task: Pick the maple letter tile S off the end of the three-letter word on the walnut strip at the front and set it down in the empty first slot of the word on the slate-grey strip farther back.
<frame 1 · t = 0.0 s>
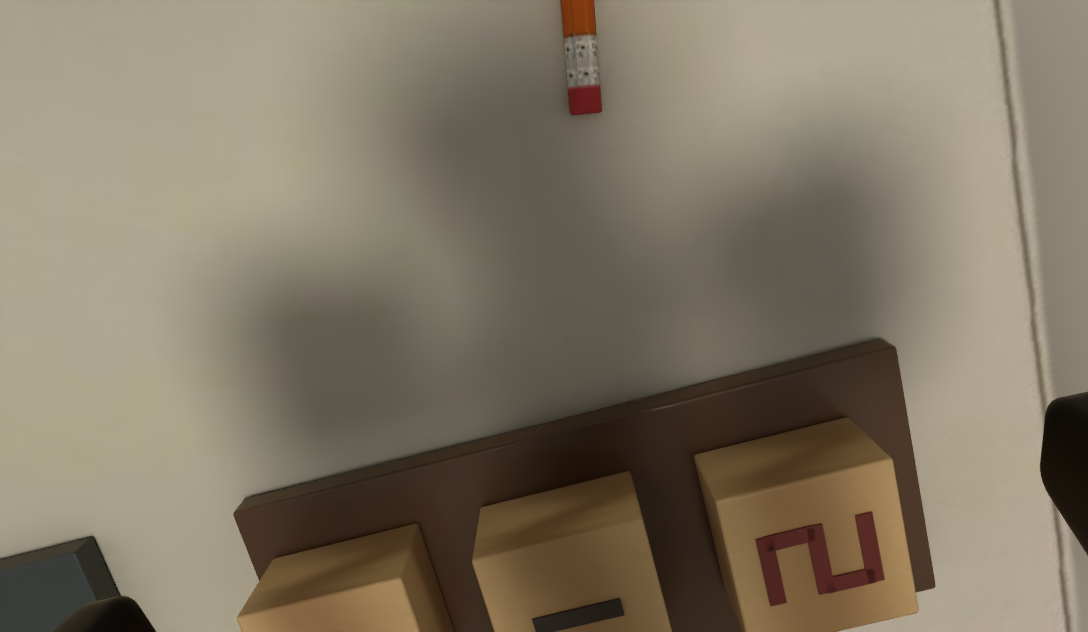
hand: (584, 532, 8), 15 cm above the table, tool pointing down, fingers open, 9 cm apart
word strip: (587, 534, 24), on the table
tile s: (784, 504, 23), point 1 cm above the table, touching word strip
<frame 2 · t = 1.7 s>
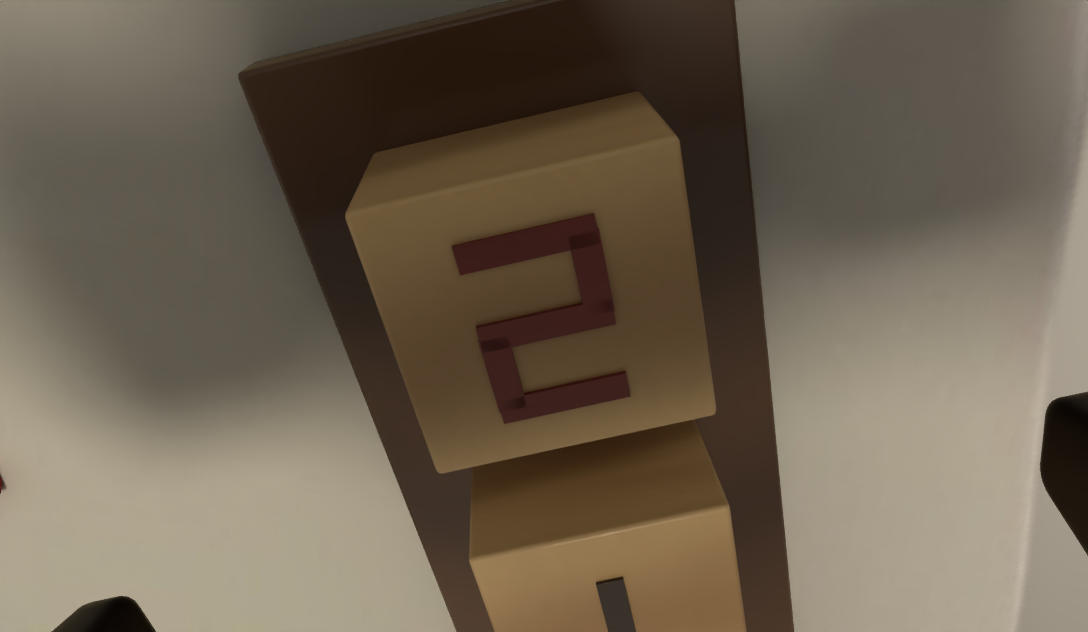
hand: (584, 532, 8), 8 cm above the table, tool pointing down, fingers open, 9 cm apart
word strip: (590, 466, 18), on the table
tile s: (535, 245, 14), point 1 cm above the table, touching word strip
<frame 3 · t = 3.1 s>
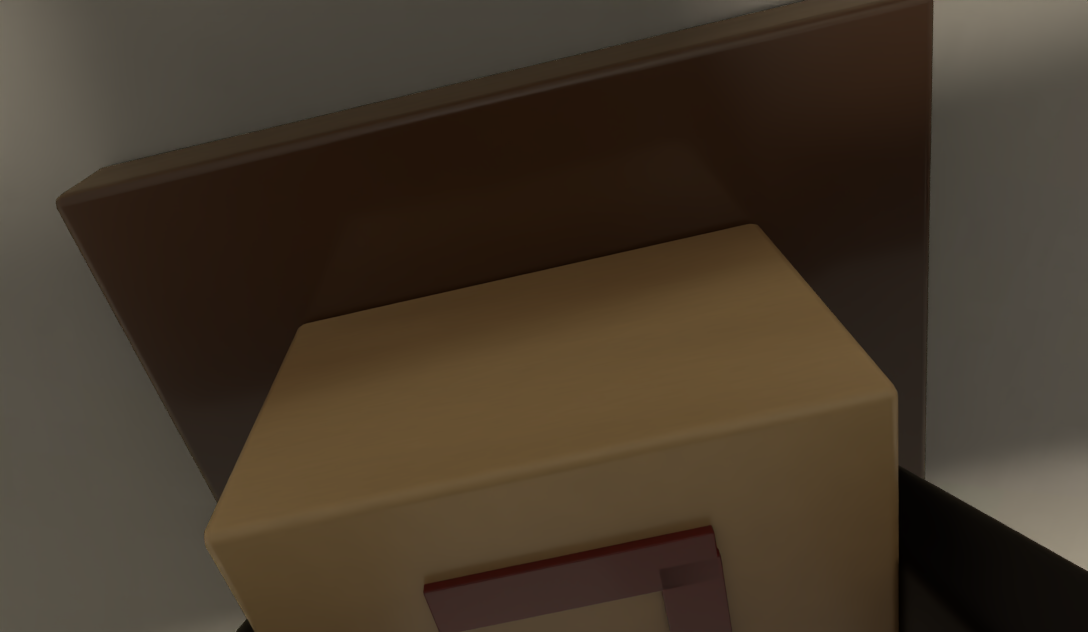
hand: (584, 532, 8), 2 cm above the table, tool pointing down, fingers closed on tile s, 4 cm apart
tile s: (570, 454, 9), point 1 cm above the table, touching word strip, gripper
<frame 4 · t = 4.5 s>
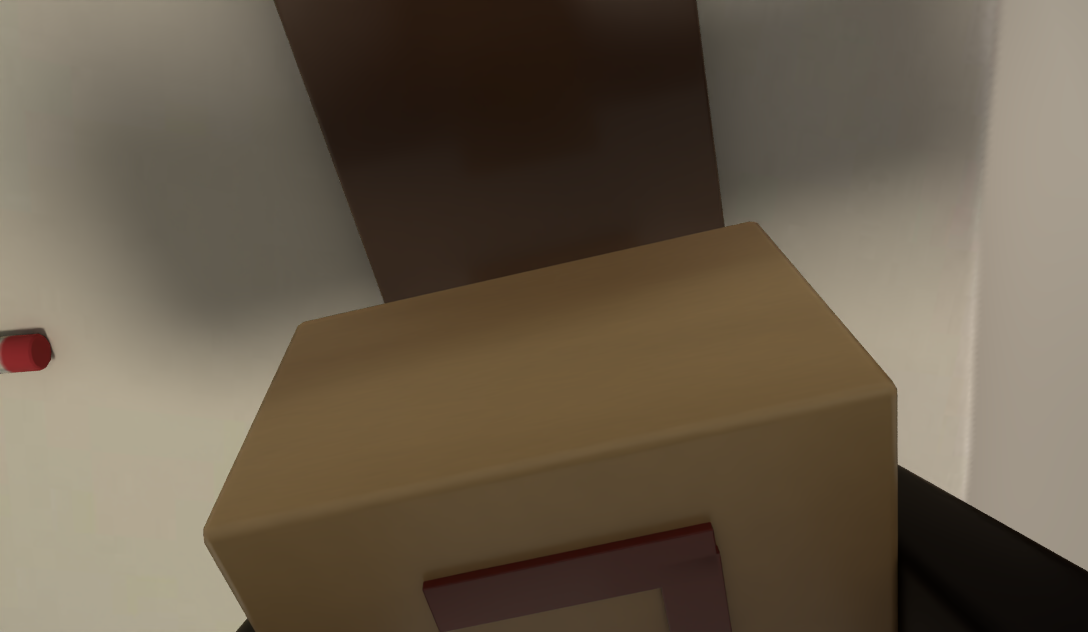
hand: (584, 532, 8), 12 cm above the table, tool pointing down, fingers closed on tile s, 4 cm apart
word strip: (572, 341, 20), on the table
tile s: (569, 452, 9), point 10 cm above the table, touching gripper
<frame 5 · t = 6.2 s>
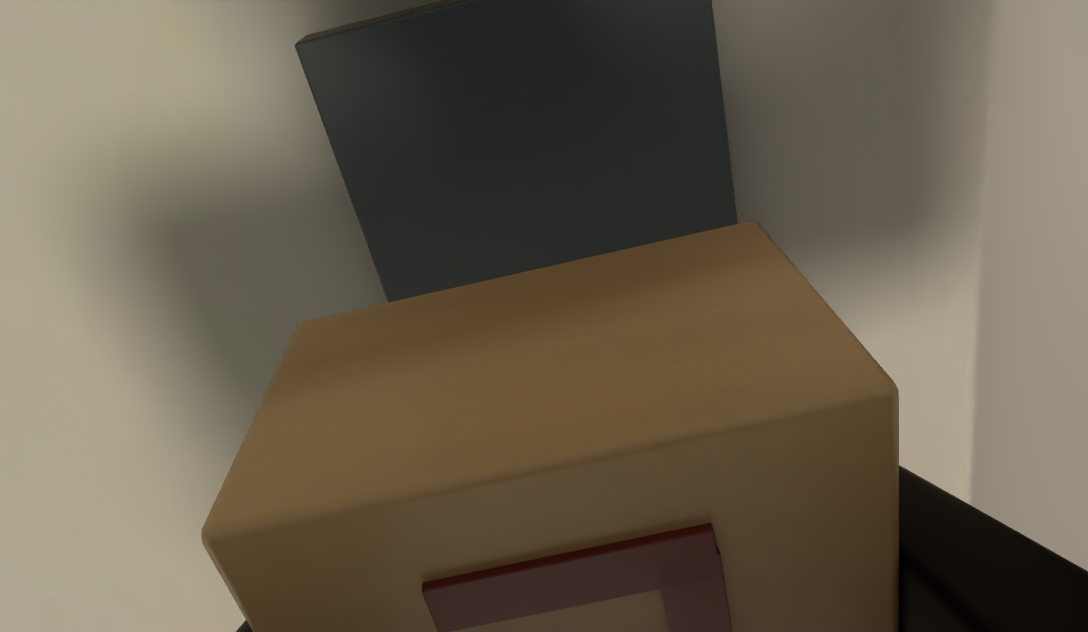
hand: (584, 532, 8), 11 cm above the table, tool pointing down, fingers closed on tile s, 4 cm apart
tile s: (569, 452, 9), point 10 cm above the table, touching gripper
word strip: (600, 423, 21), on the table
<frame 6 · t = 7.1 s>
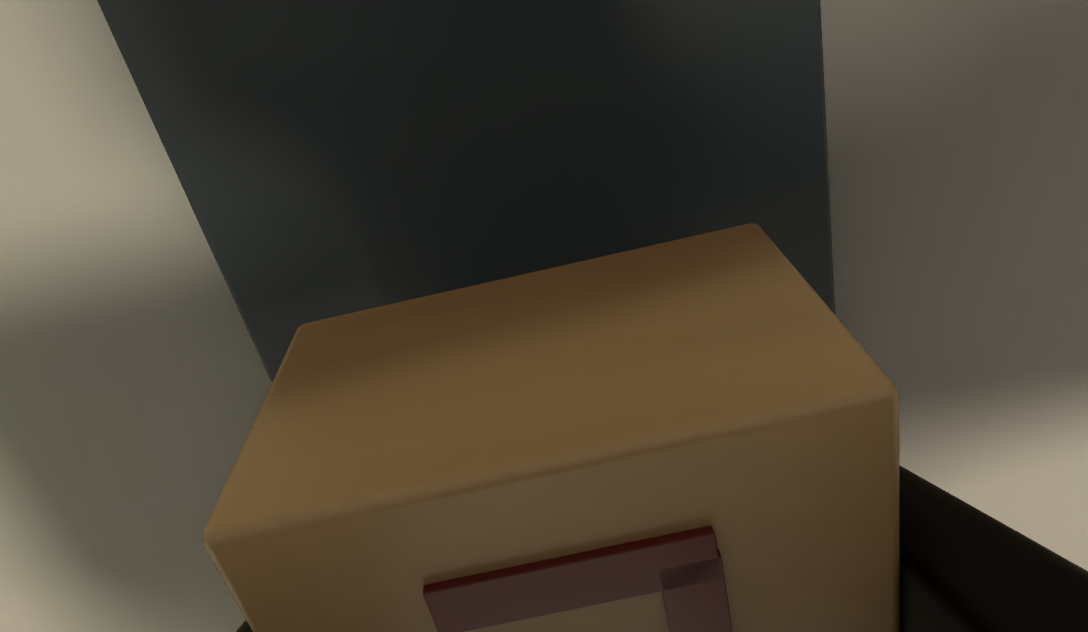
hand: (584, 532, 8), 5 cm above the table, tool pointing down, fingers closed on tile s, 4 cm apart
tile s: (570, 454, 9), point 4 cm above the table, touching gripper
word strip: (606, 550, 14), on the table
when the fingers open (2 cm above the table, at t = 8.2 s): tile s stays where it is, resting on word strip.
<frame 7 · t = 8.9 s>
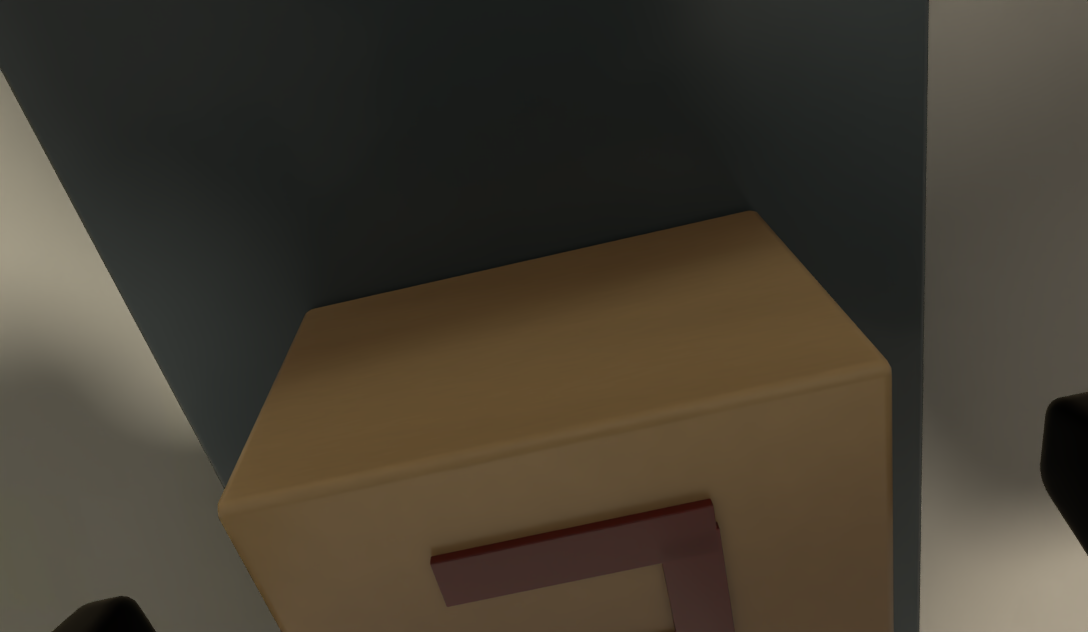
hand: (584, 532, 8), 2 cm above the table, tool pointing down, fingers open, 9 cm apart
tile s: (572, 439, 9), point 1 cm above the table, touching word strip
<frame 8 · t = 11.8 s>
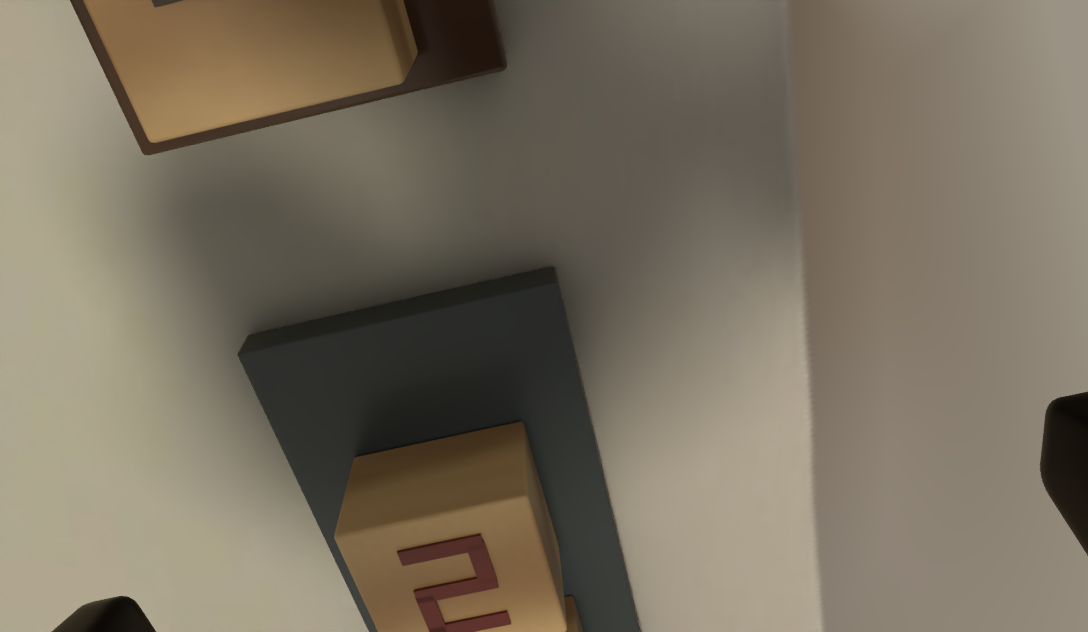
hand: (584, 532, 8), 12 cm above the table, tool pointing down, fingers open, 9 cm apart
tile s: (460, 503, 21), point 1 cm above the table, touching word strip
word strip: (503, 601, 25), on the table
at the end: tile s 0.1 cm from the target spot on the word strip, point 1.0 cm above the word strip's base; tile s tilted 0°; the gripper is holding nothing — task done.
